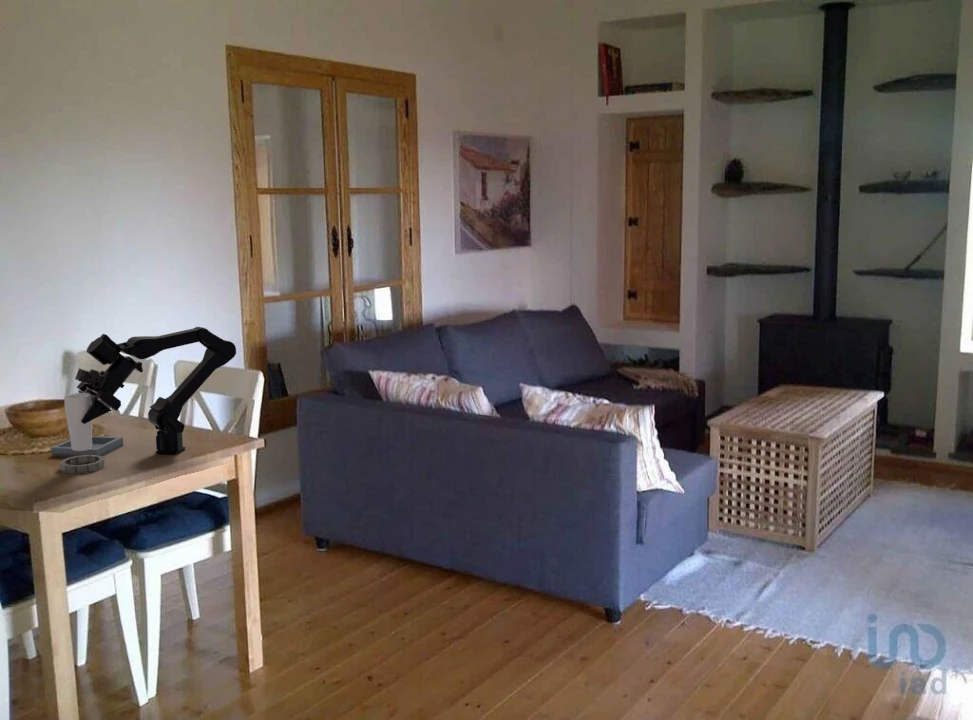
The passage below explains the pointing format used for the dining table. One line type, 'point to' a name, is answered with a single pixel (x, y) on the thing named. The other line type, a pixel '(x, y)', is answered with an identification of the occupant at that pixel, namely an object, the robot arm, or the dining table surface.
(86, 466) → the holder ring
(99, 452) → the tray
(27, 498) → the dining table surface
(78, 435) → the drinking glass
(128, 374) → the robot arm
